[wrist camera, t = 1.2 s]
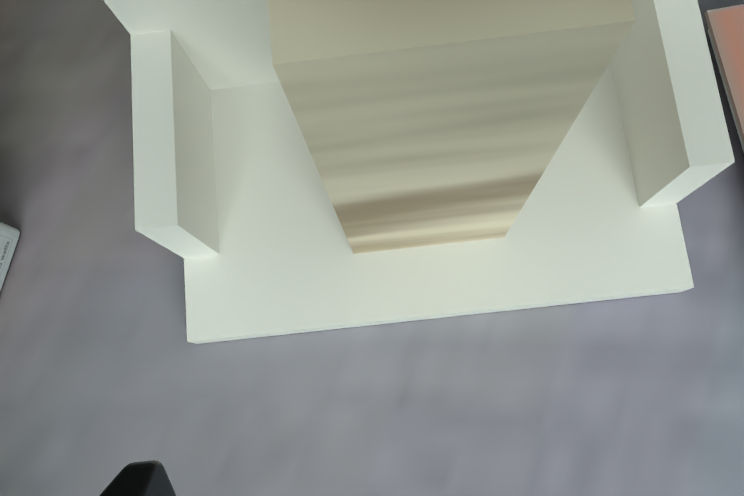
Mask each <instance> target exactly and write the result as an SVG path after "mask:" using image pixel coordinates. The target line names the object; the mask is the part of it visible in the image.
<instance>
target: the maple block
mask: <svg viewBox="0 0 744 496" xmlns="http://www.w3.org/2000/svg"><path fill="white" fill-rule="evenodd" d="M268 9H269V22H270V36H271V49H272V63H273V67H274V69H275V71H276V74H277V76H278V79H279V81H280V83H281V86H282V88H283V90H284V93H285V95H286V97H287V100H288V102H289V104H290V107H291V109H292V111H293V114H294V116H295V118H296V121H297V123H298V125H299V128H300V130H301V132H302V135H303V137H304V139H305V142H306V144H307V146H308V149H309V151H310V153H311V156H312V158H313V160H314V163H315V165H316V167H317V170H318V172H319V174H320V177H321V179H322V181H323V184H324V186H325V188H326V191H327V193H328V195H329V198H330V200H331V202H332V205H333V207H334V210H335V212H336V214H337V217H338V219H339V221H340V224H341V226H342V228H343V231H344V233H345V235H346V238H347V240H348V242H349V245H350V247H351V249H352V252H353V254H358V253H367V252H376V251H385V250H394V249H403V248H412V247H421V246H430V245H439V244H448V243H457V242H466V241H475V240H484V239H493V238H502V237H505V235H506V234H507V232H508V231H509V229H510V227H511V226H512V224H513V222H514V221H515V219H516V217H517V216H518V214H519V212H520V211H521V209H522V207H523V206H524V204H525V202H526V201H527V199H528V197H529V196H530V194H531V192H532V191H533V189H534V188H535V186H536V184H537V183H538V181H539V179H540V178H541V176H542V174H543V173H544V171H545V169H546V168H547V166H548V164H549V163H550V161H551V159H552V158H553V156H554V154H555V153H556V151H557V149H558V148H559V146H560V145H561V143H562V141H563V140H564V138H565V136H566V135H567V133H568V131H569V130H570V128H571V126H572V125H573V123H574V121H575V120H576V118H577V116H578V115H579V113H580V111H581V110H582V108H583V106H584V105H585V103H586V102H587V100H588V98H589V97H590V95H591V93H592V92H593V90H594V88H595V87H596V85H597V83H598V82H599V80H600V78H601V77H602V75H603V73H604V72H605V70H606V68H607V67H608V65H609V64H610V62H611V60H612V59H613V57H614V55H615V54H616V52H617V50H618V49H619V47H620V45H621V44H622V42H623V40H624V39H625V37H626V35H627V34H628V32H629V30H630V29H631V27H632V25H633V24H634V22H635V16H634V11H633V6H632V1H631V0H268Z"/></svg>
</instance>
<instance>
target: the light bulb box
mask: <svg viewBox="0 0 744 496" xmlns="http://www.w3.org/2000/svg"><path fill="white" fill-rule="evenodd" d="M19 235H20V232H19V230H18V229H15V228H13V227H11V226H9V225H6V224H4V223H2V222H0V291H1V288H2V285H3V282H4V279H5V276H6V273H7V271H8V268H9V265H10V262H11V259H12V256H13V253H14V250H15V247H16V244H17V241H18V239H19Z"/></svg>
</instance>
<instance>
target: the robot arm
mask: <svg viewBox="0 0 744 496" xmlns="http://www.w3.org/2000/svg"><path fill="white" fill-rule="evenodd" d="M100 496H176V494H175V492H174V490H173V487H172V485H171V483H170V480H169V478H168V476H167V473H166V471H165V469H164V467H163V465H162V464H161V463H160V462H159V461H155V460H154V461H144V462H134V463H130V464H128V465H127V466H126V467H124V468H123V469H122V470H121V472H120V473H119V474H118V475H117V476H116V477H115V478H114V480H113V481H112V482H111V483H110V484H109V485H108V486H107V488H106V489H105V490H104V491H103V492H102V493H101V494H100Z"/></svg>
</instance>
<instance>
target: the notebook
mask: <svg viewBox="0 0 744 496" xmlns="http://www.w3.org/2000/svg"><path fill="white" fill-rule="evenodd" d="M704 15H705V18H706V22H707V25H708V28H709V29H708V30H707V31H708V35H709V38H710V42H711V45H712V48H713V52H714V55H715V58H716V62H717V65H718V68H719V72H720V75H721V78H722V82H723V85H724V88H725V92H726V95H727V99H728V102H729V105H730V109H731V112H732V115H733V119H734V122H735V125H736V129H737V132H738V135H739V139H740V142H741V145H742V149H743V152H744V4H741V5H736V6H730V7H724V8H718V9H713V10H707V11H706V12H705V14H704Z"/></svg>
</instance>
